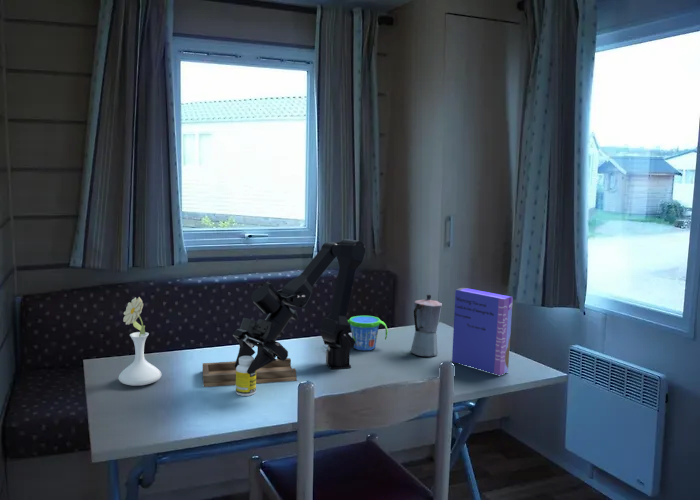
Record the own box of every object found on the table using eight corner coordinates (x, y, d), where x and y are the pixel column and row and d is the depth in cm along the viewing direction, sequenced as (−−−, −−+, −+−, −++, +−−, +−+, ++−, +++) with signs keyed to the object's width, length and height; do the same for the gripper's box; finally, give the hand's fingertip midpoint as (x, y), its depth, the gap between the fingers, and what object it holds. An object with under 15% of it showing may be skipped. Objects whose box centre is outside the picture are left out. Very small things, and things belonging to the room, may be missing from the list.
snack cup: (338, 350, 202) (339, 321, 200) (345, 341, 212) (345, 313, 211) (384, 354, 199) (385, 324, 197) (388, 345, 209) (389, 317, 208)
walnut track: (289, 365, 185) (289, 357, 185) (296, 380, 173) (296, 371, 172) (202, 371, 179) (202, 362, 178) (203, 386, 166) (203, 377, 166)
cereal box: (507, 373, 184) (512, 296, 181) (499, 376, 181) (504, 298, 177) (460, 359, 196) (464, 287, 193) (451, 362, 193) (455, 288, 189)
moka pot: (446, 351, 204) (449, 293, 202) (427, 362, 192) (430, 301, 189) (421, 345, 209) (423, 289, 207) (400, 357, 197) (403, 297, 194)
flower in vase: (118, 377, 172) (115, 291, 168) (159, 373, 176) (158, 289, 173) (119, 393, 160) (116, 301, 156) (163, 388, 164) (162, 299, 161)
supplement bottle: (251, 397, 160) (252, 361, 158) (232, 395, 161) (232, 360, 159) (259, 390, 165) (259, 355, 163) (240, 388, 166) (240, 354, 165)
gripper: (238, 300, 169) (204, 346, 163) (279, 313, 156) (244, 363, 150) (260, 323, 175) (228, 367, 169) (302, 336, 162) (269, 385, 156)
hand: (241, 370), depth 161 cm, fingers closed on supplement bottle, 5 cm apart
